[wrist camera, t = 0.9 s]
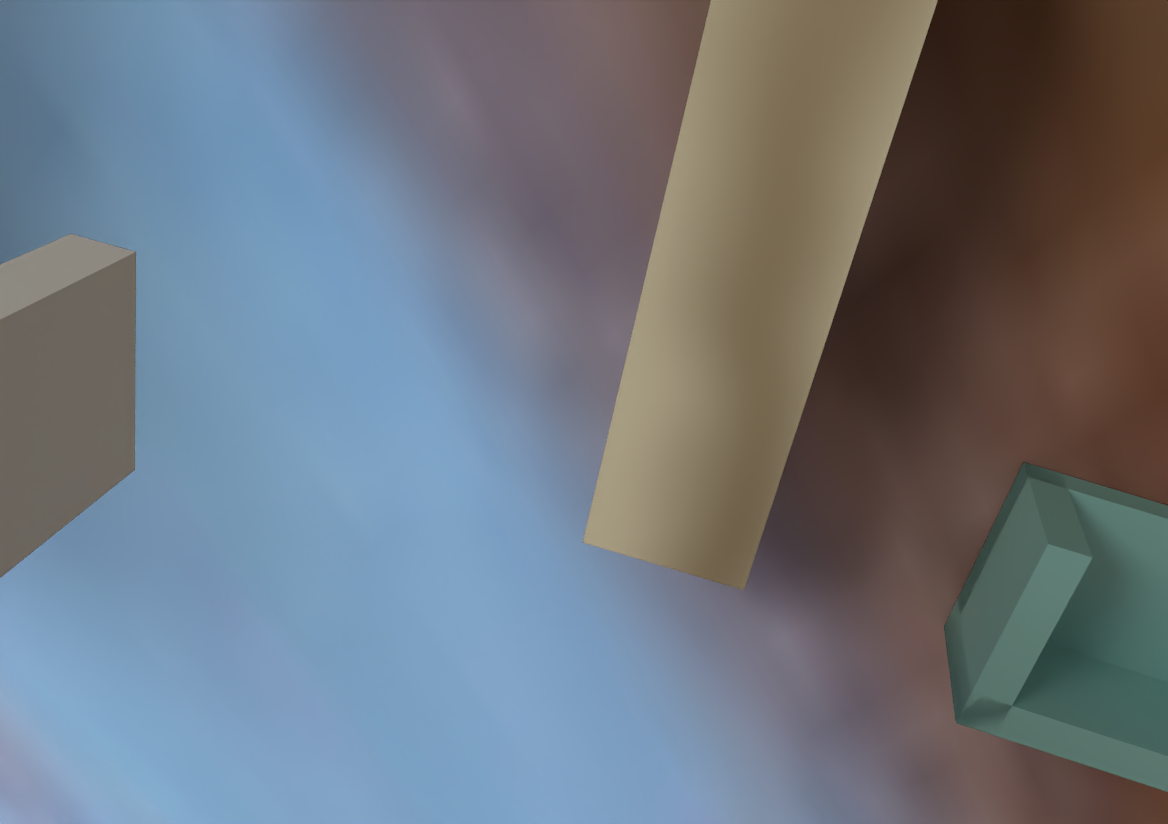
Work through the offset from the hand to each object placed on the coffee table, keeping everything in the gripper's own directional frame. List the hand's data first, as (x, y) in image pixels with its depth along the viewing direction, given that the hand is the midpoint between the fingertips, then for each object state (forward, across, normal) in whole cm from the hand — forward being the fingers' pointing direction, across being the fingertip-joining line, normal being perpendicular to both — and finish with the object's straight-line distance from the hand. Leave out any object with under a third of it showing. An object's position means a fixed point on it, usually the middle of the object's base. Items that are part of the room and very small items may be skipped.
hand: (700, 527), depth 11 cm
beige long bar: (+17, 0, -1) cm, 17 cm away
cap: (+17, +12, -9) cm, 22 cm away
